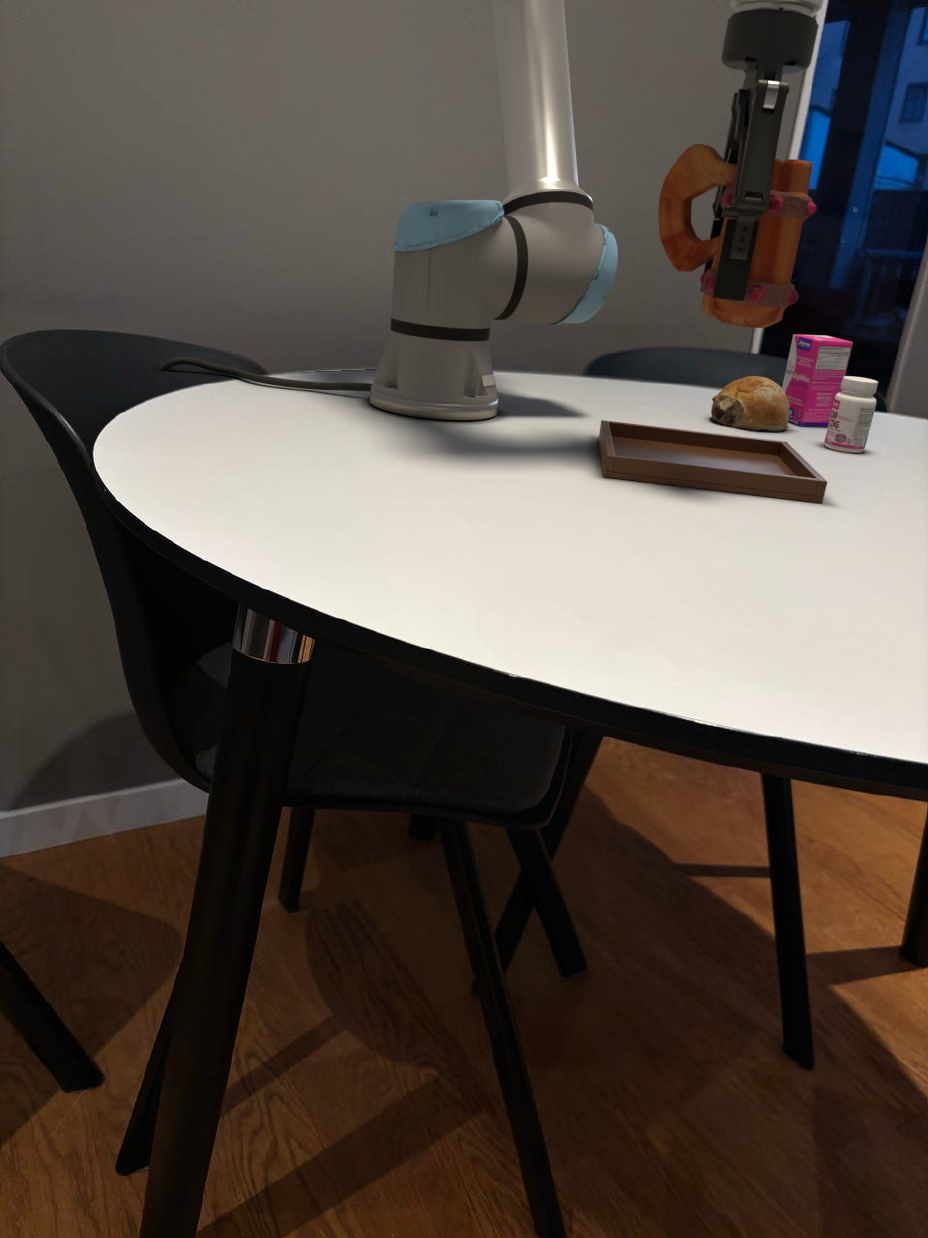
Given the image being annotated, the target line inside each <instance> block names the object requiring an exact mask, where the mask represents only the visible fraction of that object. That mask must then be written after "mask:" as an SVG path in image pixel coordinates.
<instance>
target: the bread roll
mask: <svg viewBox="0 0 928 1238" xmlns="http://www.w3.org/2000/svg"><path fill="white" fill-rule="evenodd" d="M711 401H712V405H711V409H710V414H711V418H712V419H713V420H714V421H716V422H717V423H719V424H721V425H724V426H729V427H733V428H736V429H744V430H750V431H754V432H755V431H756V432H759V431H763V430H764V431H767V432H781V431H787V430H788V429H789V427H790V425H789V421H788V418H789V406H790V404H789V403H788V400H787V397H786V394H785V393H784V391H783V389H782V386H780V385H779V384H778V383H777V382H775V381H773V379H770V378H768V377H765V376H757V375H753V376H750V375H749V376H744V377H741V378H739V379H735V380H733V381H731V382H729V383H728V384H726V385H725V386H724V387H723V388H722V389H721V390H720V391H719V392H717V394H715V395H714V396H713V397H712V398H711Z"/></svg>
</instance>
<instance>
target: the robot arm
mask: <svg viewBox="0 0 928 1238" xmlns="http://www.w3.org/2000/svg"><path fill="white" fill-rule="evenodd" d="M486 1H487V2H489V3H490V4H491V15H492V29H493V39H494V51H495V63H496V76H497V77H496V78H497V88H498V90H497V91H498V102H499V111H500V113H499V114H500V115H499V116H500V124H501V125H500V126H501V139H502V150H503V162H504V174H505V187H506V197H505V199H504V200H503V201H502V202H501V201H499V200H494V199H466V200H465V199H450V200H428V201H427V200H426V201H425V200H424V201H417V202H412V203H409V204H407V205H405V206H404V207H403V208H402V210H401V211H400V213H399V216H398V222H397V230H396V237H395V242H394V243H393V249H394V264H393V265H394V266H393V283H392V297H391V298H392V299H391V310H390V311H391V312H390V314H391V315H390V316H391V317H390V327H389V336H388V337H389V338H388V340H387V344H386V346H385V349H384V351H383V354H382V356H381V359H380V361H379V364H378V366H377V369H376V372H375V374H374V378H373V380H372V383H370V382H369V383H368V382H341V381H340V382H336V381H335V382H331V381H330V382H329V381H327V382H324V381H323V382H322V381H308V380H299V379H289V378H281V377H274V376H268V375H263V374H257V373H253V372H250V371H247V370H244V369H241V368H238V367H233V366H228V365H222V364H217V363H214V362H210V361H208V360H204V359H200V358H196V357H192V356H175V357H172V358H169V359H167V360H168V361H167V360H166V361H167V363H166V362H165V361H164V362H162V363H161V364H160V365H159V366H158V367H157V369H156V371H160V372H166V371H167V370H170V369H171V368H172V367H176V366H181V365H186V366H193V367H198V368H201V369H203V370H204V369H205V370H207V371H208V370H209V371H211V372H214V373H220V374H223V375H231V376H234V377H238V378H241V379H243V380H246V381H250V382H255V383H257V384H258V383H259V384H264V385H269V386H276V387H283V388H291V389H301V390H314V391H346V392H347V391H350V392H352V391H353V392H370V395H369V397H370V398H369V402H370V404H372V405H373V406H374V407H376V408H378V409H381V410H383V411H387V412H390V413H395V414H399V415H404V416H409V417H416V418H424V419H433V420H445V421H447V420H448V421H475V420H484V419H485V420H486V419H489V418H492V417H494V416H496V415H497V414H498V405H499V397H498V390H497V385H496V379H495V374H494V370H493V369H494V368H493V364H492V359H491V354H490V348H489V347H490V345H489V344H490V333H491V325H492V321H505V322H521V323H536V324H537V323H539V324H548V325H551V326H559V325H562V324H581V323H584V322H587V321H588V320H590V319H592V318H593V317H594V316H595V315H596V314H597V313H599V311H600V310H601V308H603V306H604V304H605V302H606V301H607V298H608V297H609V294H610V292H611V291H612V288H613V286H614V282H615V280H616V279H615V278H616V274H617V269H618V261H619V259H618V257H619V255H618V254H619V253H618V244H617V240H616V238H615V235H614V233H612V232H611V230H610V229H609V228H608V227H607V226H605V225H604V224H600V223H595V214H594V213H595V212H594V204H593V203H594V202H593V199H592V197H591V196H590V195H589V194H588V193H587V192H585V191H584V190H583V189H582V188H580V187H579V176H578V164H577V151H576V139H575V138H576V137H575V128H574V127H575V126H574V115H573V103H572V89H571V87H572V86H571V75H570V64H569V53H568V52H569V50H568V39H567V38H568V37H567V26H566V12H565V1H564V0H486ZM729 5H730V7H731V9H732V10H733V11H735V13H732V14H731V16H730V17H729V18H728V19H727V22H726V27H725V28H726V29H725V35H724V40H723V46H722V52H721V63H722V64H723V65H724V66H725V67H727V68H729V69H731V70H735V71H736V70H737V71H743V72H744V73H745V76H744V80H743V84H742V88H739V89H738V90H737V92H734V93H733V96H732V100H731V105H730V111H731V113H730V114H731V117H730V121H729V126H728V131H727V134H726V143H725V148H724V152H723V157H722V158H723V159H724V160H725V161H726V162H727V163H731V164H737V169H736V177H735V185H734V192H733V200H732V207H729V206H725V208H724V209H722V206H721V205H720V203H719V202H718V198H719V197H720V195H721V194H723V193H724V191H725V190H726V188H727V187H726V186H725V185H719V186H717V187H716V190H715V197H714V201H713V202H712V206H711V209H712V212H713V214H712V215H713V219H712V220H713V221H712V225H711V229H710V236H709V239H712V238H716V237H718V236H720V234H721V231H722V227H723V223H724V219H725V217H727V218H736V220H735V219H727V220H726V226H725V231H724V236H723V242H722V247H721V252H720V258H719V263H718V268H717V274H716V279H715V284H714V290H713V295H712V297H713V298H721V299H730V300H739V301H744V298H745V293H746V288H747V283H748V278H749V273H750V268H751V263H752V258H753V253H754V248H755V243H756V238H757V233H758V228H759V223H760V222H755V221H760V219H761V217H762V215H763V212H765V211H766V210H767V208H768V205H769V202H768V199H769V193H770V187H771V181H772V175H773V169H774V163H775V159H776V156H777V152H778V151H777V150H778V145H779V139H780V133H781V128H782V121H783V116H784V111H785V106H786V102H787V96H788V95H789V93H790V90H791V89H790V88H791V87H790V82H789V81H783V75H792V74H793V75H794V74H800V73H803V72H805V71H807V70H808V69H810V67H811V64H812V61H813V55H814V52H815V46H816V40H817V36H818V31H819V27H820V24H819V23H818V21H817V18H814V16H817V15H818V14H819V13H820V12H821V11H822V9H823V5H824V0H730V2H729ZM712 263H713V259H712V260H710V261H708V262H707V263H705V264H704V269H703V273H705V272H706V271H707V270H708V269H710V268H711V267H712ZM700 292H702V293H703V291H702V284H701V285H700Z"/></svg>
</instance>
